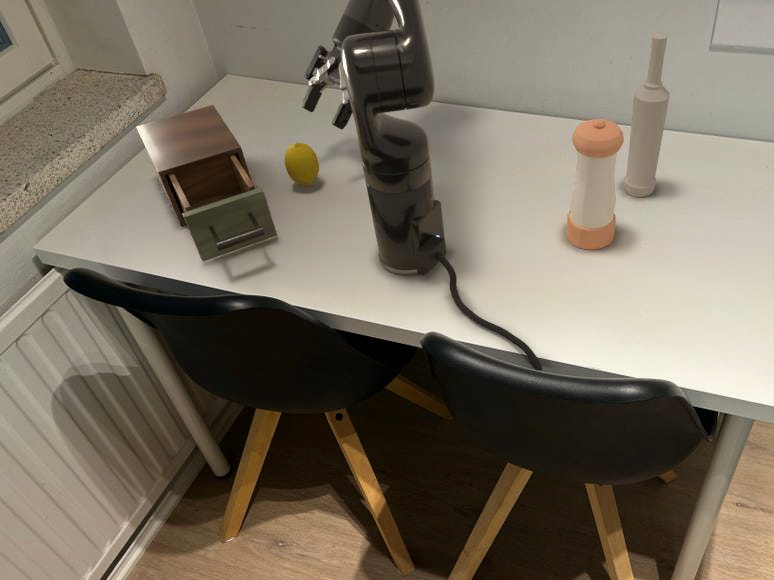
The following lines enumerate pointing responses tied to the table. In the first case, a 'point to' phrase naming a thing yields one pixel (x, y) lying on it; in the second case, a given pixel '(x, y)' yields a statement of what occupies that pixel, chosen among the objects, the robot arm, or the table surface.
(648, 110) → the bottle
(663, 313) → the table surface
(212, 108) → the cabinet
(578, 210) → the pepper shaker
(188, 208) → the drawer
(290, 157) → the lemon
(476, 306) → the table surface
